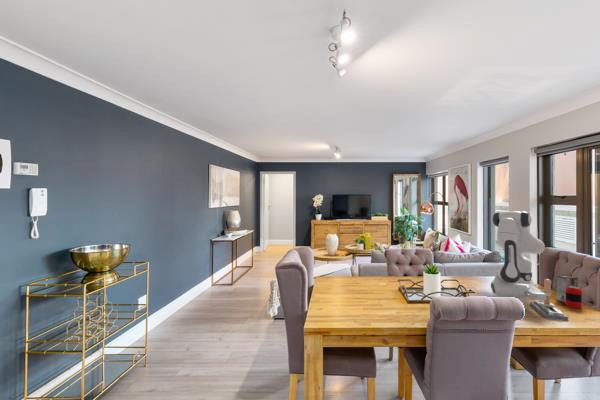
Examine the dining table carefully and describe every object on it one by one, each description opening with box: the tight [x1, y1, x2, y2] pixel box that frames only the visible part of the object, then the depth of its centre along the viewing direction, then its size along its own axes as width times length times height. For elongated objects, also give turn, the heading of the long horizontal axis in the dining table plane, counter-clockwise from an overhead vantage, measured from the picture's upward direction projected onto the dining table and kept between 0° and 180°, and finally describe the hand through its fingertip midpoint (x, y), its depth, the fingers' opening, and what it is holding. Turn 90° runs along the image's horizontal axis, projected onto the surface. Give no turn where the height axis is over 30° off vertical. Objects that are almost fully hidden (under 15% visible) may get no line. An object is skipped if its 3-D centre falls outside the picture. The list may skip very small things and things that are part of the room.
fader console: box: [529, 299, 569, 321], centre depth 185 cm, size 22×11×4 cm, turn 161°
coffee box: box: [556, 275, 579, 303], centre depth 206 cm, size 9×6×16 cm
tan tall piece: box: [539, 278, 556, 309], centre depth 186 cm, size 5×6×17 cm
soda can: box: [564, 286, 583, 309], centre depth 196 cm, size 8×8×12 cm
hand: (549, 293), depth 186 cm, fingers closed on tan tall piece, 3 cm apart
